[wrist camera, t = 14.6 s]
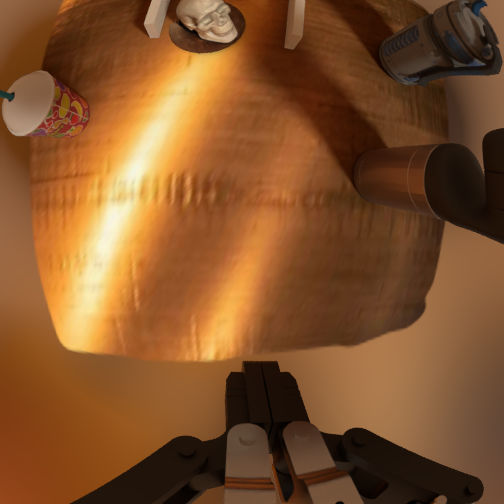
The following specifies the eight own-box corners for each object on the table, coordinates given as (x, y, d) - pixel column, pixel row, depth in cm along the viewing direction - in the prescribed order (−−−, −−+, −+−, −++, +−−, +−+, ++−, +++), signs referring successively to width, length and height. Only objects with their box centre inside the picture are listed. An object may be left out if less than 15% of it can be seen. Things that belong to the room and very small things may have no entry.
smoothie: (51, 144, 33) (-31, 136, 14) (60, 97, 31) (-14, 65, 12) (92, 143, 34) (13, 126, 15) (101, 93, 32) (34, 47, 13)
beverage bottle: (378, 89, 38) (486, 51, 14) (372, 31, 34) (458, -24, 10) (419, 104, 39) (523, 86, 15) (413, 48, 36) (500, 13, 12)
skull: (266, 22, 32) (239, 19, 25) (226, 61, 39) (194, 69, 32) (216, -15, 28) (181, -22, 21) (182, 24, 35) (145, 28, 29)
